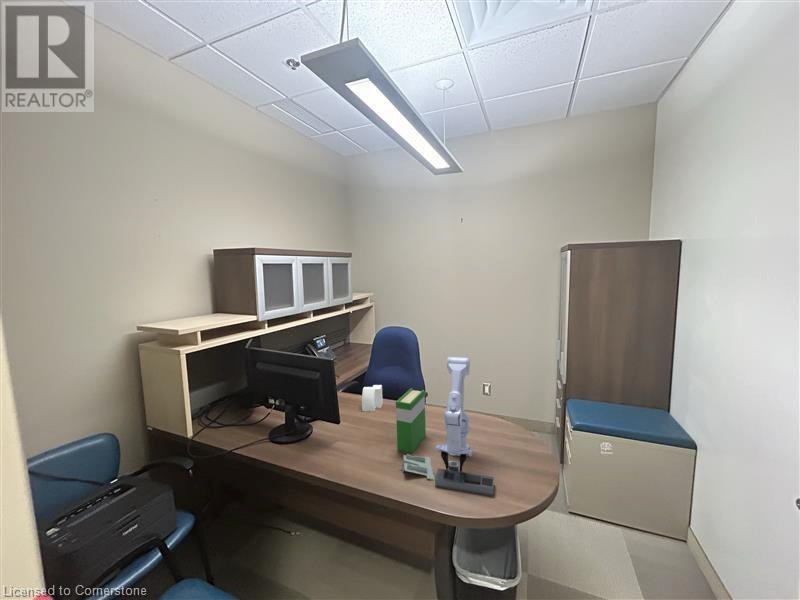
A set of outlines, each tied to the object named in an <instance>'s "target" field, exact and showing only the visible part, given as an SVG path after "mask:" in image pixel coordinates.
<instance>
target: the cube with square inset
mask: <svg viewBox="0 0 800 600" xmlns="http://www.w3.org/2000/svg"><path fill="white" fill-rule="evenodd" d="M448 463H449V467H448V470H451V471H458V472H460V460H459V461H457V460H452V459H450V460H449V461H448Z"/></svg>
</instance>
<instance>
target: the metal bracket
mask: <svg viewBox="0 0 800 600" xmlns="http://www.w3.org/2000/svg"><path fill="white" fill-rule="evenodd" d="M401 465H402V466H400V468H399V470H402V473H404V472H409V473H413V474H418V475H421V476H425V477H426V479H427V480H431V481H435V478H436V477H435V475H434V471H433V466H432V460H431V457H429V456H419V455H412V454H410V453H406V455H405V454H403V460H402V464H401Z"/></svg>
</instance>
